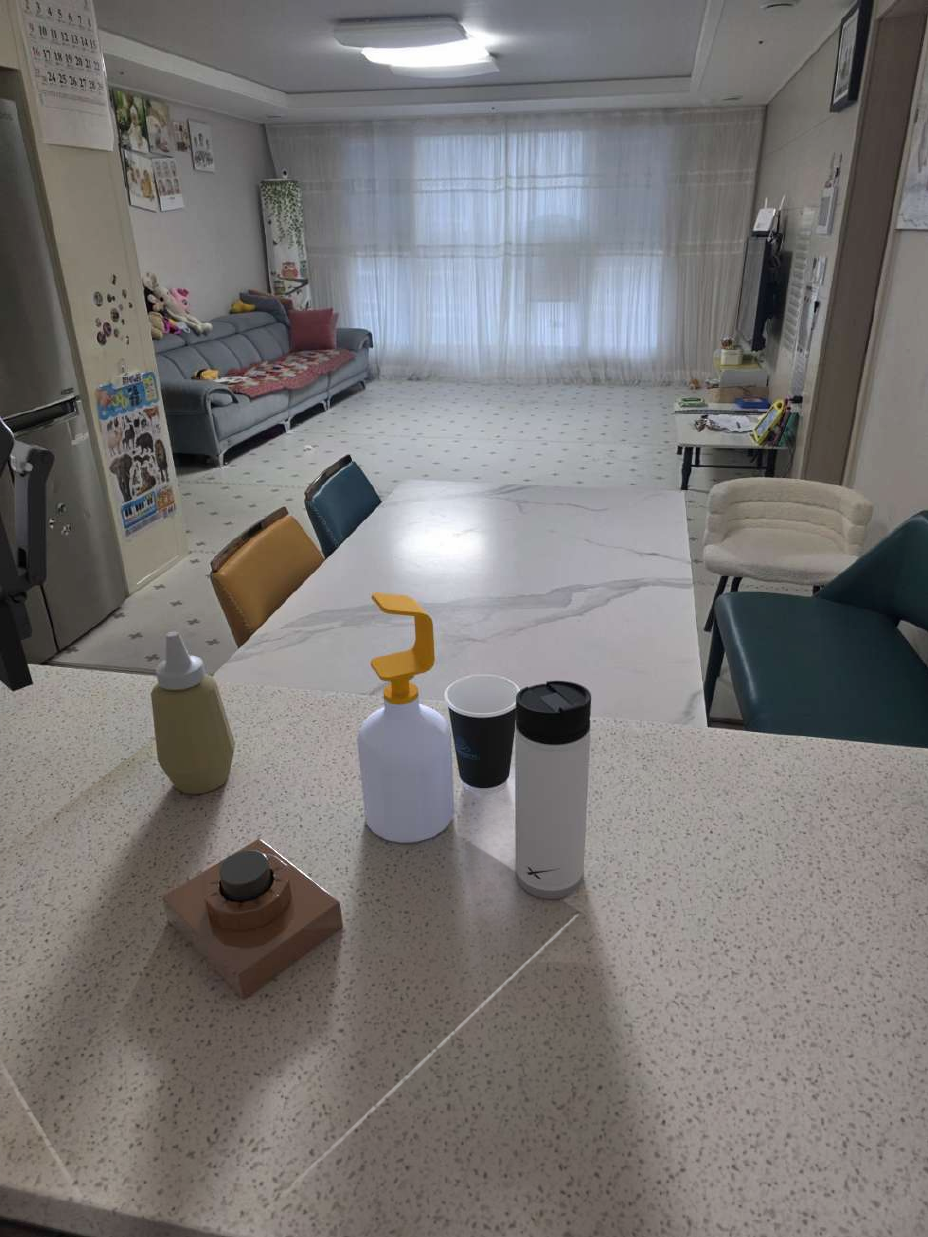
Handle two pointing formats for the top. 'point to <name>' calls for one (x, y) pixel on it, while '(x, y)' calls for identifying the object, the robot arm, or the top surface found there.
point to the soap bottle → (406, 742)
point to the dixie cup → (483, 730)
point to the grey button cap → (245, 876)
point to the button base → (253, 922)
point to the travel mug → (551, 787)
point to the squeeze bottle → (190, 722)
